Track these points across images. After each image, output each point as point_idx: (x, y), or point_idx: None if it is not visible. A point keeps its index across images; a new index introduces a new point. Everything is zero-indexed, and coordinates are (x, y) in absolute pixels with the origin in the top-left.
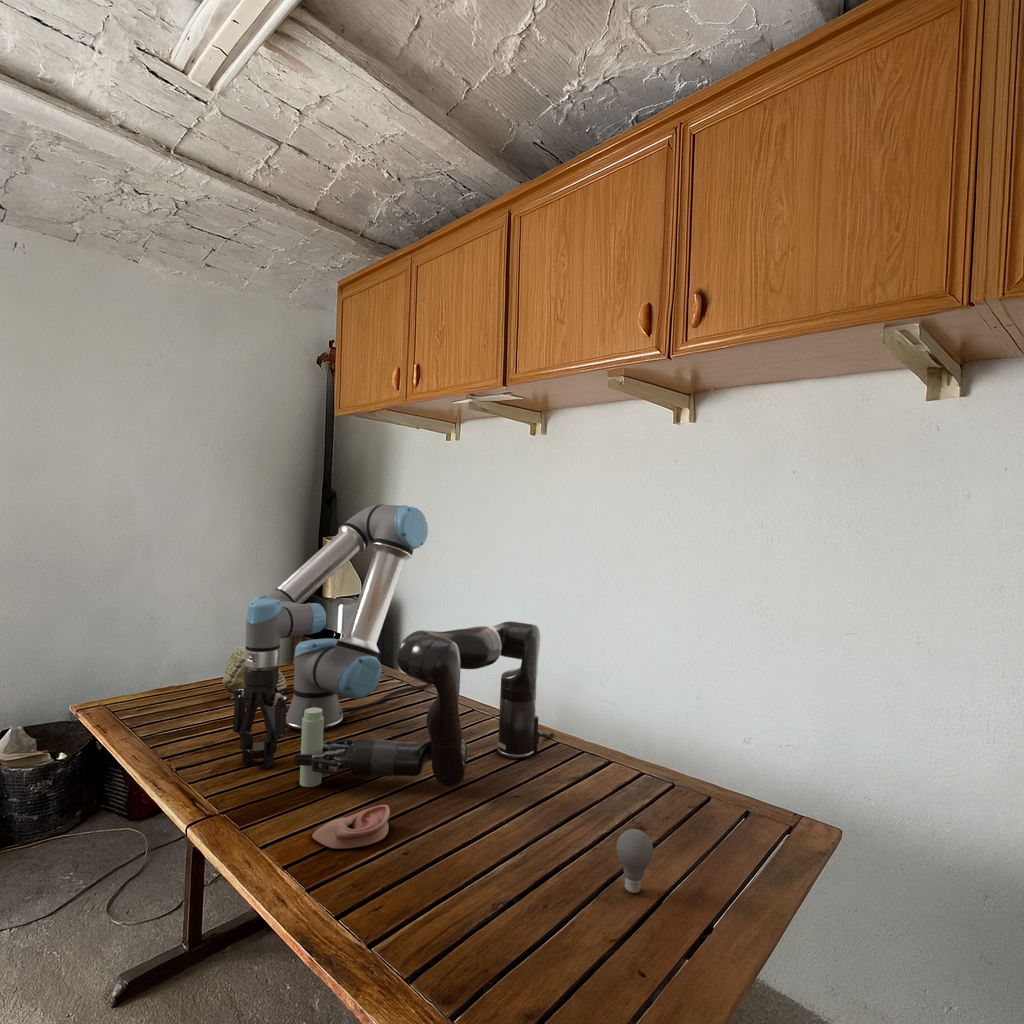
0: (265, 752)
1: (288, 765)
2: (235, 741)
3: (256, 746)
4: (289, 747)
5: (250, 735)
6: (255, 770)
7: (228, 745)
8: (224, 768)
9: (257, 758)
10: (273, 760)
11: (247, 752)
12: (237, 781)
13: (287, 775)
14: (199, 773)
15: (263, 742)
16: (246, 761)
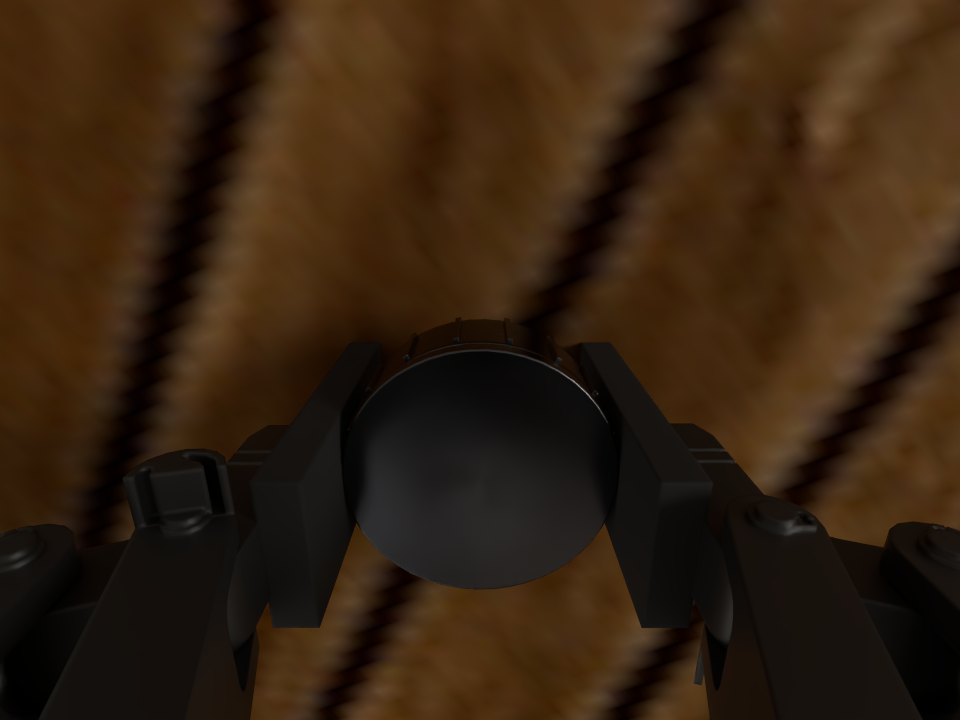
0: (316, 406)
1: None
2: None
3: (496, 471)
4: (466, 705)
5: (647, 577)
6: (416, 291)
7: None
8: (713, 218)
9: (404, 344)
10: None
11: (534, 347)
12: (399, 5)
13: (87, 311)
14: (893, 15)
15: (499, 583)
16: None
